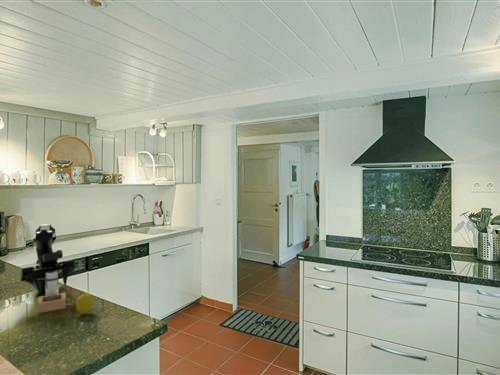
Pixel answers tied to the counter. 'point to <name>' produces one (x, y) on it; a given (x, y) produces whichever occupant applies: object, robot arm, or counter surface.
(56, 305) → the terracotta collar
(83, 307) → the lemon
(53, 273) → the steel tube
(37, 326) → the counter surface
